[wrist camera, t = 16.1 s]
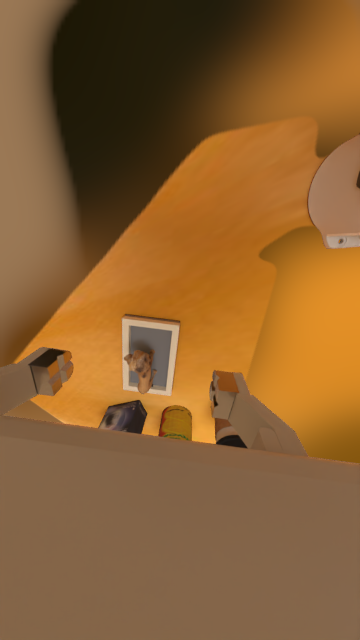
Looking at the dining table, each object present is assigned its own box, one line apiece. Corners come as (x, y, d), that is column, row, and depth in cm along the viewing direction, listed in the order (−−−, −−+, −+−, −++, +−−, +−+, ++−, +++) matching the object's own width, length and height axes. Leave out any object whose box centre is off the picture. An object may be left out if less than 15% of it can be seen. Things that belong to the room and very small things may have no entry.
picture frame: (180, 321, 43) (179, 325, 41) (171, 389, 51) (170, 395, 49) (125, 314, 43) (121, 318, 41) (126, 382, 52) (123, 389, 49)
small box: (139, 398, 54) (127, 432, 44) (148, 413, 56) (138, 449, 46) (108, 405, 56) (90, 439, 46) (117, 420, 58) (102, 455, 48)
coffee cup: (246, 402, 52) (265, 460, 38) (224, 417, 55) (235, 476, 41) (225, 386, 50) (237, 441, 36) (203, 403, 53) (208, 460, 39)
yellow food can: (168, 401, 53) (162, 442, 42) (196, 411, 54) (197, 455, 43) (157, 420, 57) (149, 463, 46) (184, 430, 58) (182, 474, 47)
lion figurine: (131, 338, 45) (117, 360, 36) (152, 336, 44) (143, 358, 36) (144, 385, 50) (134, 413, 42) (163, 384, 50) (157, 412, 41)
